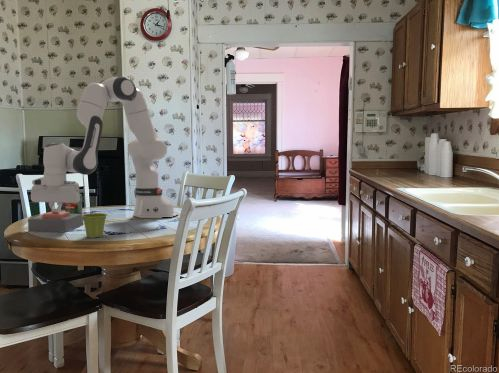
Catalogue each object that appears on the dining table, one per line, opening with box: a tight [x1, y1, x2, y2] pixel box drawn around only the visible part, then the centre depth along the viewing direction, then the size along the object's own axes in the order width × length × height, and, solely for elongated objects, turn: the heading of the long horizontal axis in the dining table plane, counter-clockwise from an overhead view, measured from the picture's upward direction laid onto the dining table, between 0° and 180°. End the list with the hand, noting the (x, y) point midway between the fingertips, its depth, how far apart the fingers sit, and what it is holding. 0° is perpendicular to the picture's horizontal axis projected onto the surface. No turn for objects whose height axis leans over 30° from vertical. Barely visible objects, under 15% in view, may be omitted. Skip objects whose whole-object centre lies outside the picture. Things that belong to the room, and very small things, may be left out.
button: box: [41, 211, 70, 218], centre depth 192 cm, size 8×8×4 cm
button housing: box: [27, 213, 84, 233], centre depth 192 cm, size 16×16×5 cm
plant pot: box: [82, 212, 108, 239], centre depth 176 cm, size 9×9×9 cm
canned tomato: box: [64, 193, 83, 214], centre depth 220 cm, size 8×8×11 cm
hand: (55, 212), depth 192 cm, fingers closed, pressing on button
